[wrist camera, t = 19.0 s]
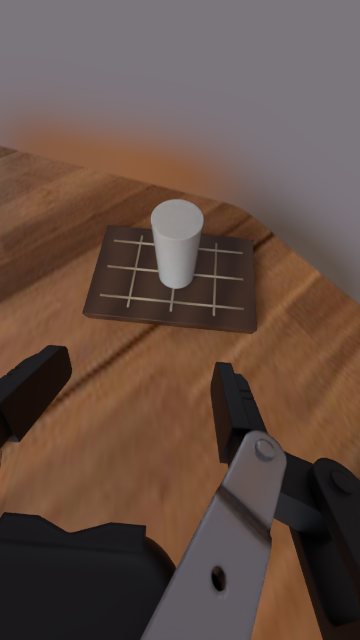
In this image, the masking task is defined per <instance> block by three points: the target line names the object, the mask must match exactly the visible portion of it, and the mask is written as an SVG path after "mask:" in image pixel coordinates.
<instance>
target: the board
mask: <svg viewBox="0 0 360 640" xmlns="http://www.w3.org/2000/svg"><path fill="white" fill-rule="evenodd" d="M83 314H84V315H85V316H87V317H88V318H96V319H107V320H117V321H127V322H137V323H147V324H157V325H167V326H177V327H188V328H198V329H208V330H218V331H228V332H238V333H248V334H252V333H254V332H255V331H257V323H256V301H255V279H254V257H253V240H251V239H241V238H231V237H220V236H210V235H201V240H200V245H199V250H198V256H197V261H196V267H195V272H194V277H193V280H192V281H191V283H190V284H188V285H187V286H185V287H183V288H179V289H174V288H170V287H167V286H166V285H164V284H163V283H162V282H161V280H160V278H159V274H158V267H157V260H156V253H155V246H154V240H153V233H152V230H149V229H139V228H129V227H118V226H107V230H106V233H105V236H104V240H103V243H102V247H101V250H100V254H99V257H98V261H97V264H96V268H95V271H94V275H93V278H92V282H91V285H90V288H89V292H88V295H87V299H86V302H85V306H84V309H83Z"/></svg>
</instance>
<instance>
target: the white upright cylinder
mask: <svg viewBox="0 0 360 640" xmlns="http://www.w3.org/2000/svg"><path fill="white" fill-rule="evenodd" d="M203 223H204V218H203V215H202V212H201V211H200V209H199V208H198V207H197V206H196V205H194V204H193V203H191V202H188V201H185V200H180V199H173V200H168V201H165V202H163V203H161V204H159V205H158V206H157V207H156V208H155V209H154V210H153V212H152V215H151V226H152V233H153V240H154V246H155V253H156V260H157V267H158V274H159V278H160V280H161V282H162V283H163V284H164V285H166V286H167V287H170V288H174V289H179V288H183V287H185V286H187V285H188V284H190V283H191V281H192V280H193V277H194V272H195V267H196V261H197V256H198V250H199V245H200V240H201V234H202V229H203Z"/></svg>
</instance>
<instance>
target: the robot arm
mask: <svg viewBox="0 0 360 640" xmlns="http://www.w3.org/2000/svg"><path fill="white" fill-rule="evenodd" d="M71 374H72V367H71V362H70V358H69V353H68V349H67V348H66V347H65V346H55V345H48V346H47V347H45V348H44V349H43V350H42V351H40V352H39V353H38V354H35V355H33V356H31V357H29V358H27V359H25V360H23V361H22V362H21V363H20V364H18V365H17V366H16V367H15V369H12V370H11V371H9V372H8V373H7V375H4V376H3V377H2V378H0V466H1V459H2V449H1V447H2V446H3V445H4V443H5V442H6V441H10V442H20V441H21V439H22V438H23V437H24V436H25V434H26V433H27V432H28V431H29V429H30V428H31V427H32V426H33V424H34V423H35V422H36V421H37V419H38V418H39V417H40V416H41V414H42V413H43V412H44V411H45V409H46V408H47V407H48V406H49V405H50V403H51V402H52V401H53V400H54V398H55V397H56V396H57V395H58V393H59V392H60V391H61V390H62V388H63V387H64V386H65V385H66V383H67V382H68V381H69V379H70V377H71ZM211 401H212V408H213V415H214V423H215V430H216V437H217V444H218V452H219V459H220V463H227V464H228V468H229V469H228V471H227V473H226V475H225V477H224V479H223V481H222V483H221V484H220V486H219V487H218V489H217V490H216V492H215V494H214V496H213V498H212V500H211V502H210V504H209V506H208V508H207V510H206V512H205V513H204V515H203V517H202V519H201V521H200V523H199V525H198V527H197V529H196V531H195V533H194V535H193V537H192V539H191V541H190V543H189V545H188V547H187V549H186V551H185V553H184V555H183V557H182V559H181V561H180V563H179V564H178V566H177V568H176V567H175V565H174V563H173V562H172V560H171V559H170V557H169V556H168V554H167V553H166V552H165V551H164V550H163V549H162V548H161V546H159V545H158V544H157V543H156V542H155V541H153V540H152V539H150V538H148V537H147V536H146V526H144V525H133V524H123V523H112V522H111V523H107V524H103V525H99V526H96V527H92V528H88V529H84V530H81V531H77V532H72V533H69V532H66V531H64V530H63V529H61V528H59V527H58V526H56V525H54V524H53V523H51V522H49V521H47V520H46V519H44V518H42V517H41V516H39V515H29V514H18V513H8V512H4V513H3V515H2V516H1V518H0V640H251V635H252V631H253V627H254V622H255V618H256V613H257V609H258V605H259V600H260V596H261V592H262V587H263V583H264V579H265V574H266V570H267V565H268V561H269V557H270V551H271V545H272V538H271V536H270V530H271V525H272V521H273V518H275V519H277V520H278V521H280V522H282V523H284V524H286V525H288V526H289V528H290V532H291V535H292V538H293V542H294V545H295V548H296V552H297V555H298V558H299V562H300V565H301V568H302V572H303V575H304V578H305V582H306V585H307V588H308V592H309V595H310V598H311V602H312V605H313V608H314V612H315V615H316V618H317V622H318V625H319V628H320V632H321V635H322V638H323V640H360V481H359V480H358V479H357V478H356V477H355V475H354V474H353V473H351V472H350V471H349V470H348V469H347V468H345V467H344V466H343V465H341V464H340V463H338V462H336V461H334V460H331V459H328V458H320V459H318V460H317V461H316V462H315V463H314V464H312V463H310V462H307V461H305V460H303V459H300V458H298V457H296V456H293V455H291V454H289V453H287V452H285V451H284V450H283V449H282V447H281V446H280V444H279V443H278V442H277V441H276V440H275V439H274V438H273V437H272V436H270V435H269V434H268V432H267V430H266V428H265V425H264V423H263V420H262V418H261V415H260V413H259V410H258V407H257V405H256V402H255V400H254V397H253V395H252V393H251V390H250V387H249V384H248V382H247V381H246V380H245V379H244V377H243V376H242V375H241V374H235V373H234V370H233V367H232V365H231V363H224V362H216V364H215V368H214V372H213V377H212V381H211Z"/></svg>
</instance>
